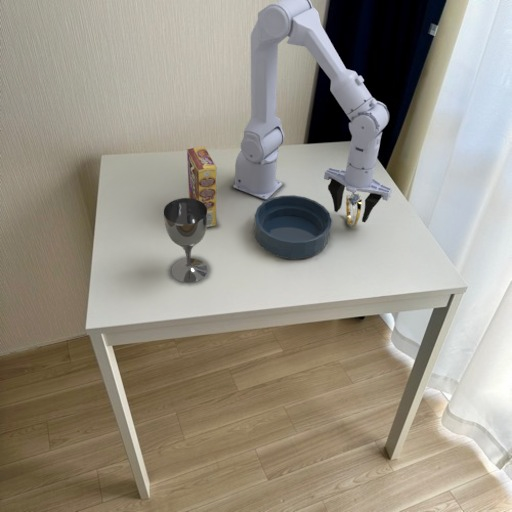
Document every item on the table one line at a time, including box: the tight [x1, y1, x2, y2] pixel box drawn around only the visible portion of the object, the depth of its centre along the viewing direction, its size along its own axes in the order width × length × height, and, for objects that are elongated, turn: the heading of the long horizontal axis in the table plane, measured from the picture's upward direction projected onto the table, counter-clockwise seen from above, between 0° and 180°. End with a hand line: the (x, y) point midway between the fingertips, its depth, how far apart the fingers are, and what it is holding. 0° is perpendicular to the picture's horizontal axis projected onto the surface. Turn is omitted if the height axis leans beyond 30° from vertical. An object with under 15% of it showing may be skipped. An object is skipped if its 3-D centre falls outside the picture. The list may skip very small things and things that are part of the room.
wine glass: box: [162, 197, 208, 284], centre depth 100 cm, size 8×8×15 cm
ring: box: [345, 192, 363, 227], centre depth 115 cm, size 7×3×8 cm, turn 1°
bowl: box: [253, 194, 333, 260], centre depth 112 cm, size 16×16×5 cm
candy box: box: [186, 146, 217, 228], centre depth 113 cm, size 9×4×15 cm, turn 20°
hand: (351, 214), depth 116 cm, fingers open, 6 cm apart
